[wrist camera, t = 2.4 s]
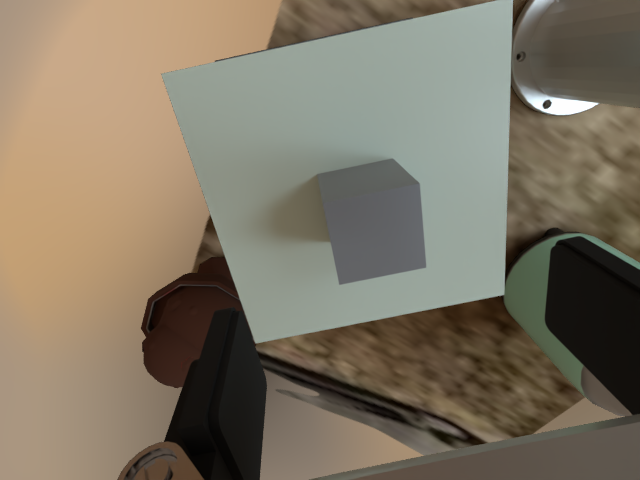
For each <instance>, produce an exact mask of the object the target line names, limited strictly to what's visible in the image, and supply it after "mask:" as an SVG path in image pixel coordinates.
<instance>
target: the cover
mask: <svg viewBox="0 0 640 480" xmlns="http://www.w3.org/2000/svg"><path fill="white" fill-rule="evenodd" d="M512 16H513V0H496V1H492V2H487V3H483V4H478V5H474V6H469V7H464V8H460V9H455V10H451V11H446V12H442V13H437V14H432V15H428V16H423V17H419V18H414V19H410V20H405V21H400V22H396V23H391V24H387V25H382V26H378V27H373V28H368V29H364V30H359V31H355V32H350V33H346V34H341V35H336V36H332V37H327V38H323V39H318V40H314V41H309V42H304V43H300V44H295V45H291V46H286V47H282V48H277V49H272V50H268V51H263V52H259V53H254V54H249V55H245V56H240V57H236V58H231V59H227V60H222V61H217V62H213V63H208V64H204V65H199V66H195V67H191V68H186V69H181V70H176V71H172V72H167V73H163V74H161V75H162V78H163V81H164V83H165V86H166V89H167V92H168V95H169V98H170V101H171V103H172V106H173V109H174V112H175V115H176V118H177V121H178V124H179V126H180V129H181V132H182V135H183V138H184V140H185V143H186V146H187V149H188V152H189V155H190V158H191V161H192V163H193V166H194V169H195V172H196V175H197V178H198V181H199V184H200V186H201V189H202V192H203V195H204V198H205V200H206V204H207V206H208V209H209V212H210V215H211V218H212V221H213V224H214V226H215V229H216V232H217V235H218V238H219V241H220V244H221V246H222V249H223V252H224V255H225V258H226V261H227V264H228V266H229V269H230V272H231V275H232V278H233V281H234V284H235V286H236V289H237V292H238V295H239V298H240V301H241V304H242V306H243V309H244V312H245V315H246V318H247V321H248V324H249V326H250V329H251V332H252V335H253V338H254V341H255V344H256V343H261V342H266V341H271V340H276V339H281V338H286V337H291V336H297V335H302V334H307V333H312V332H317V331H322V330H327V329H332V328H337V327H343V326H348V325H353V324H358V323H363V322H368V321H373V320H378V319H384V318H389V317H394V316H399V315H404V314H409V313H414V312H419V311H425V310H430V309H435V308H440V307H445V306H450V305H455V304H460V303H466V302H471V301H476V300H481V299H486V298H491V297H496V296H501V295H504V291H505V257H506V222H507V188H508V154H509V119H510V85H511V51H512Z"/></svg>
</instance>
